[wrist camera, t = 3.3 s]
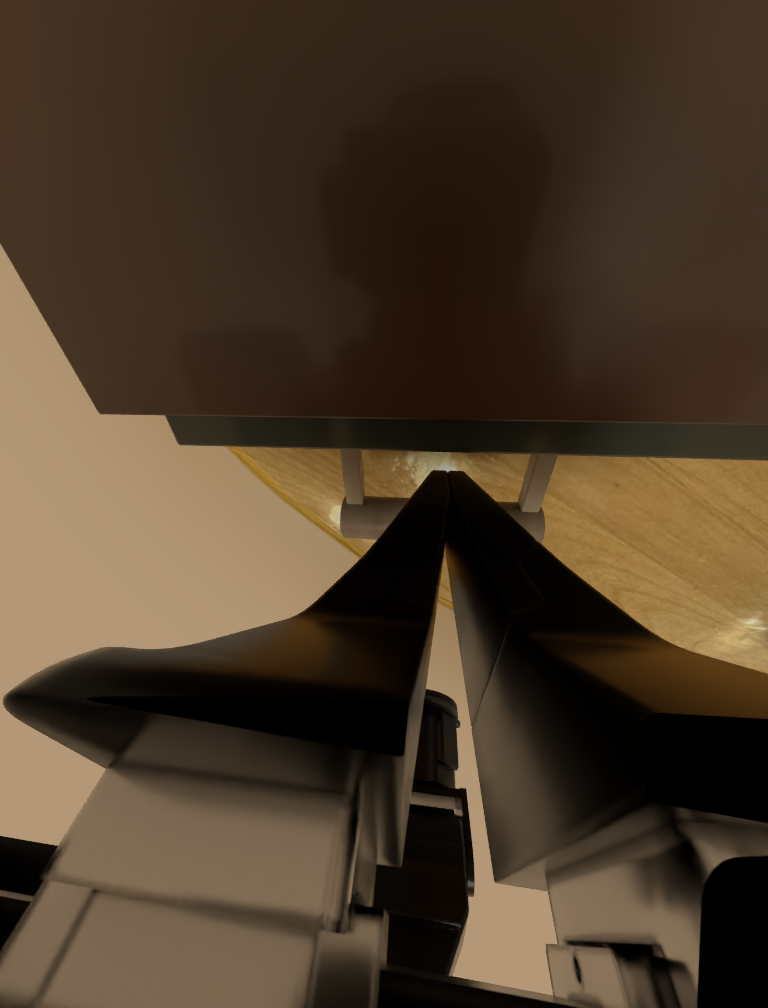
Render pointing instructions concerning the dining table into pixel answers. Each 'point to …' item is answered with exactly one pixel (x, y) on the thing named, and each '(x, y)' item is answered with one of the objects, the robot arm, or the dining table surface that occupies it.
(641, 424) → the drawer
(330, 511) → the dining table surface
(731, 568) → the dining table surface
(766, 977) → the robot arm
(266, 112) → the cabinet
